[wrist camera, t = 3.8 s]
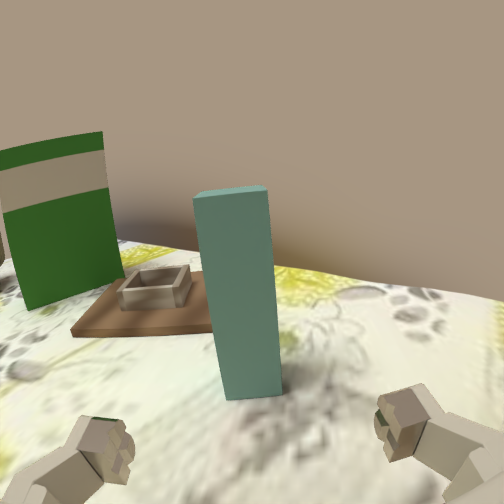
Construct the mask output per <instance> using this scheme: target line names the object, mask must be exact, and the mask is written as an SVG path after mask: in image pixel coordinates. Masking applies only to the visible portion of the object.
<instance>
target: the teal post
mask: <svg viewBox="0 0 504 504" xmlns="http://www.w3.org/2000/svg"><path fill="white" fill-rule="evenodd" d="M193 206H194V213H195V221H196V229H197V235H198V243H199V249H200V257H201V263H202V270H203V276H204V282H205V289H206V295H207V301H208V307H209V313H210V318H211V324H212V330H213V335H214V341H215V346H216V351H217V357H218V362H219V367H220V372H221V377H222V382H223V387H224V392H225V397H226V400H238V399H250V398H261V397H270V396H279V395H283V394H282V377H281V361H280V346H279V331H278V316H277V303H276V289H275V276H274V264H273V251H272V239H271V227H270V215H269V204H268V194H267V189H266V188H265V187H264V186H262V185H258V186H247V187H237V188H228V189H219V190H210V191H203V192H200V193H199V194H198V195H197V196H195V197H194V198H193Z"/></svg>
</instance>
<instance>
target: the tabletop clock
mask: <svg viewBox="0 0 504 504" xmlns="http://www.w3.org/2000/svg"><path fill="white" fill-rule="evenodd" d="M4 260H5V254H4V248H3V243H2V238H1V233H0V266H1V265H2V264H3V262H4Z"/></svg>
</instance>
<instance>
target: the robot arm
mask: <svg viewBox="0 0 504 504" xmlns="http://www.w3.org/2000/svg"><path fill="white" fill-rule="evenodd" d="M377 405H378V407H379V410H378V411H377V412H376V413H375V417H374V428H375V431H376V434H377V437H378V439H380V440H382V441H383V442H385V443H384V446H383V450H384V452H385V454H386V456H387V459H388V461H389V463H391V462H394V461H397V460H401V459H404V458H407V457H410V456H413V457H414V458H416V459H417V460H419V461H420V462H422V463H423V464H425V465H426V466H428V467H430V468H431V469H433V470H434V471H436V472H438V473H439V474H441V475H442V476H444V477H446V478H447V479H449V480H451V483H450V484H449V486H448V487H447V488H446V490H445V491H444V493H443V495H442V496H443V498H444V500H445V502H446V503H444V504H504V433H503V432H500V431H497V430H494V429H492V428H489V427H486V426H484V425H481V424H478V423H476V422H473V421H470V420H468V419H465V418H463V417H460V416H458V415H455V414H453V413H450V412H448V413H445V412H444V411H443V409H442V408H441V407H440V405H439V404H438V403H437V401H436V400H435V398H434V397H433V396H432V394H431V393H430V392H429V390H428V389H427V388H426V386H425V385H424V384H422V383H420V384H417V385H414V386H411V387H408V388H404V389H400V390H397V391H394V392H390V393H387V394H383V395H380V396H379V398H378V402H377ZM125 429H126V426H125V424H124V422H123V420H119V419H109V418H101V417H92V416H85V415H82V416H80V417H79V418H78V420H77V422H76V424H75V425H74V427H73V429H72V431H71V433H70V435H69V437H68V439H67V441H66V443H65V445H64V447H59V448H57V449H56V450H54V451H52V452H51V453H49V454H48V455H46V456H44V457H43V458H41V459H40V460H38V461H36V462H35V463H33V464H31V465H30V466H28V467H27V468H25V469H23V470H22V471H20V472H18V473H17V474H15V475H14V477H13V479H12V481H11V483H10V484H9V486H8V488H7V490H6V492H5V494H4V496H3V498H2V500H1V499H0V504H83V503H84V502H85V501H87V500H88V499H89V498H90V497H91V496H92V495H93V494H94V493H95V492H96V491H97V490H98V489H99V488H100V487H101V486H102V485H103V484H104V482H106V483H112V484H120V485H127V481H128V478H129V474H130V471H131V470H130V469H129V467H128V465H129V464H130V463H131V462H132V461H133V460H134V456H135V444H134V441H133V439H132V437H131V435H129V434H128V433H127V432H125Z"/></svg>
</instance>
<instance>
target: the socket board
mask: <svg viewBox="0 0 504 504" xmlns="http://www.w3.org/2000/svg"><path fill="white" fill-rule="evenodd" d="M70 330H71V333H72V336H73V337H133V336H160V335H179V334H195V333H209V332H213V330H212V324H211V318H210V313H209V307H208V301H207V295H206V289H205V282H204V276H203V271H196V272H190V266H189V264H188V265H178V266H168V267H158V268H148V269H138V270H135V271H134V272H133V273H132V274H131V275H130V276H129V278H121V279H116V280H115V281H114V283H113V284H112V285H111V286H110V287H109V288H108V289H107V290H106V291H105V292H104V293H103V294H102V295H101V296H100V297H99V298H98V299H97V300H96V302H95V303H94V304H93V305H92V306H91V307H90V308H89V309H88V310H87V311H86V312H85V313H84V315H83V316H82V317H81V318H80V319H79V320H78V321H77V322H76V323H75V325H74V326H73V327H72V328H71V329H70Z"/></svg>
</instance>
